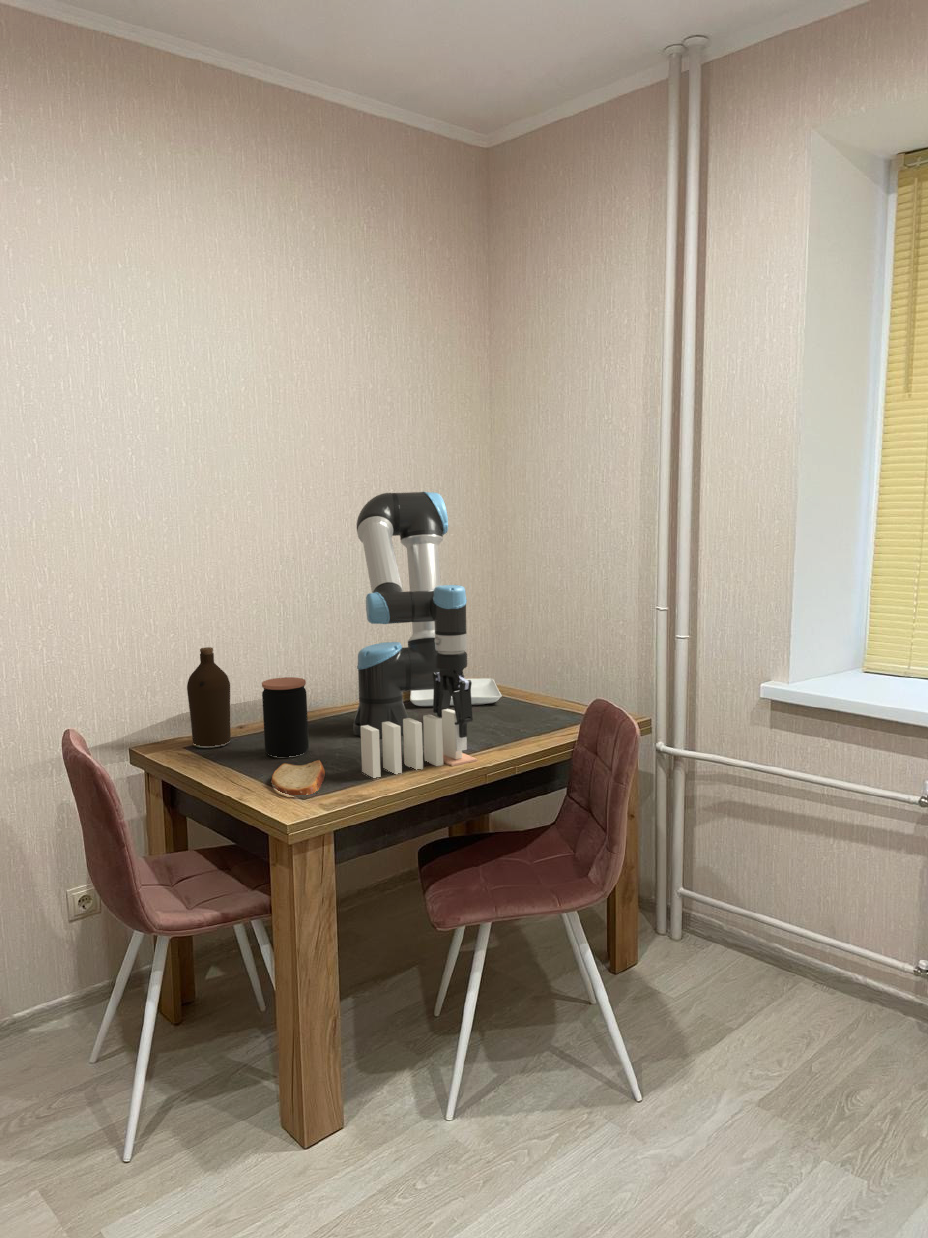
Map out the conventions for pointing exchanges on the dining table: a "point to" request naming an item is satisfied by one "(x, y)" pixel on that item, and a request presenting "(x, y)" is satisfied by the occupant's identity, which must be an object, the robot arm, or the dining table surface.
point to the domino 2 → (391, 747)
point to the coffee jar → (285, 716)
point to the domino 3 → (413, 743)
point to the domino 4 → (433, 740)
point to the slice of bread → (299, 778)
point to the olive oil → (209, 702)
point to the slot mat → (458, 760)
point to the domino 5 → (449, 734)
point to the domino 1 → (370, 751)
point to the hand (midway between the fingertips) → (453, 746)
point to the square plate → (480, 691)
